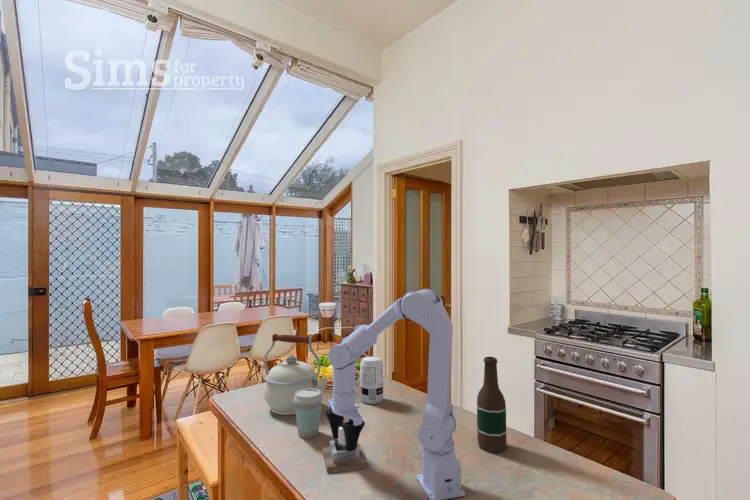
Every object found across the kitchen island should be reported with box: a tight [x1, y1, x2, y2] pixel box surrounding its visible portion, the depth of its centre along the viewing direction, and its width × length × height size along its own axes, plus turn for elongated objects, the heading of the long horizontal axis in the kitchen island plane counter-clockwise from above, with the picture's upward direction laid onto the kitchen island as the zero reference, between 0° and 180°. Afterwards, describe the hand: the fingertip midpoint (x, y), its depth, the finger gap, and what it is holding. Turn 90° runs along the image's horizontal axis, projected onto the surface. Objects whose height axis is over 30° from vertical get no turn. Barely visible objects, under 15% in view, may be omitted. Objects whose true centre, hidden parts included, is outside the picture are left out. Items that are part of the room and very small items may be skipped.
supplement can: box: [359, 355, 384, 405], centre depth 139 cm, size 8×8×15 cm
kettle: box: [262, 333, 330, 416], centre depth 133 cm, size 25×18×25 cm
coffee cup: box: [293, 388, 324, 439], centre depth 113 cm, size 8×8×12 cm
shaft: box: [337, 425, 347, 451], centre depth 98 cm, size 3×3×7 cm
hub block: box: [322, 439, 369, 474], centre depth 98 cm, size 10×10×4 cm
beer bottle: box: [476, 356, 507, 454], centre depth 105 cm, size 8×8×24 cm
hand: (344, 443), depth 98 cm, fingers open, 7 cm apart
